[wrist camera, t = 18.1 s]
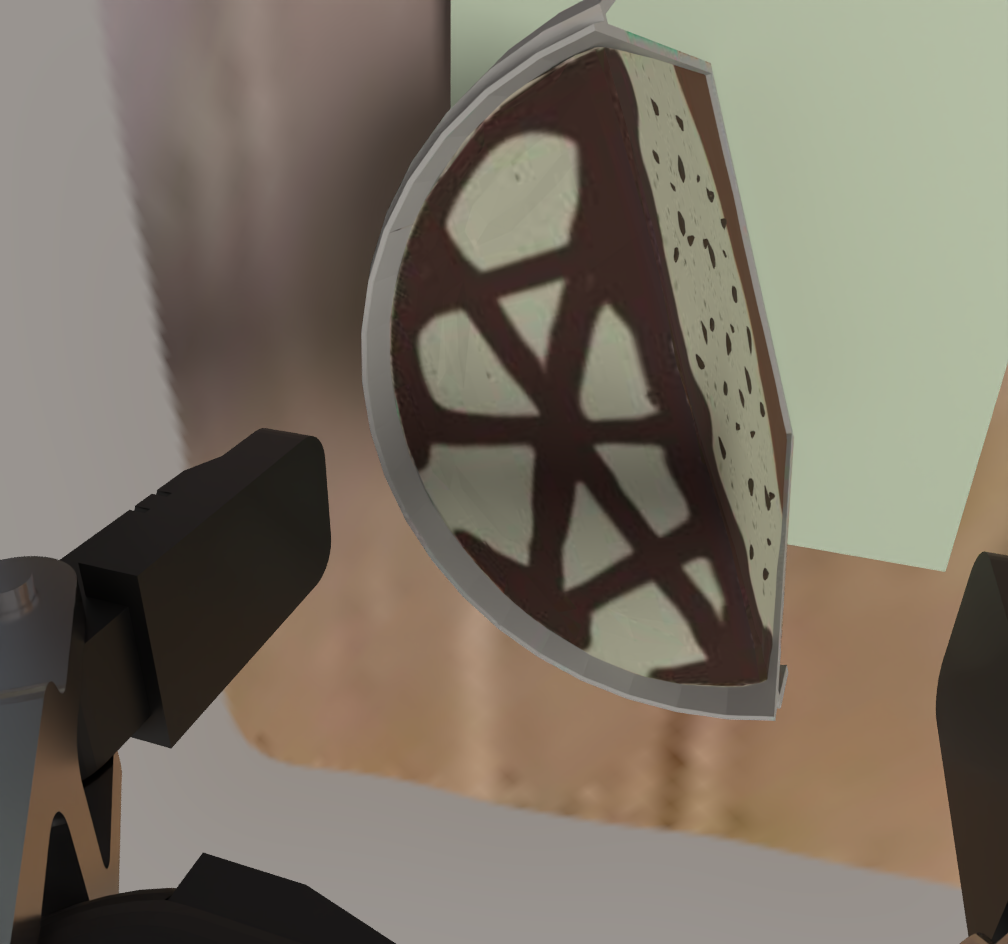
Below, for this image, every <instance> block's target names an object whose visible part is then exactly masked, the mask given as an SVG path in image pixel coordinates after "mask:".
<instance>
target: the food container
mask: <svg viewBox="0 0 1008 944" xmlns="http://www.w3.org/2000/svg"><path fill="white" fill-rule="evenodd" d="M615 1H616V0H583V1H581V2H579V3H577V4H575V5H573V6H571V7H569V8H567V9H565V10H563V11H562V12H560V13H558V14H557V15H556V16H554V17H553V18H551V19H550V20H549V21H547V22H546V23H545V24H543V25H542V26H541V27H539V28H538V29H536V30H535V31H534V32H532V33H531V34H530V35H528V36H527V37H525V38H524V39H523V40H521V41H520V42H519V43H517V44H516V45H514V46H513V47H512V48H510V49H509V50H508V51H507V52H506V53H505V54H504V55H503V56H502V57H501V58H500V59H499V60H498V61H497V62H496V63H495V64H494V65H493V66H492V67H491V68H490V69H489V70H488V71H487V72H486V73H485V74H484V75H483V76H482V77H481V78H480V79H479V80H478V81H477V82H476V83H475V84H474V85H473V86H472V87H471V88H470V89H469V90H468V91H467V92H466V93H465V94H464V95H463V96H462V97H461V99H460V100H459V101H458V102H457V103H456V104H455V105H454V106H453V107H452V108H451V109H450V110H449V111H448V112H447V113H446V114H445V116H444V117H443V118H442V120H441V121H440V123H439V124H438V126H437V127H436V128H435V130H434V131H433V133H432V134H431V135H430V137H429V138H428V140H427V141H426V142H425V144H424V145H423V147H422V148H421V149H420V151H419V152H418V154H417V155H416V156H415V158H414V159H413V161H412V162H411V164H410V166H409V168H408V170H407V172H406V174H405V176H404V178H403V180H402V183H401V185H400V187H399V189H398V191H397V193H396V195H395V197H394V199H393V201H392V203H391V205H390V207H389V209H388V211H387V213H386V217H385V220H384V223H383V226H382V230H381V233H380V236H379V240H378V243H377V246H376V249H375V253H374V256H373V259H372V262H371V267H370V274H369V281H368V287H367V295H366V302H365V309H364V317H363V324H362V332H361V340H362V384H363V390H364V396H365V402H366V408H367V414H368V420H369V426H370V431H371V435H372V438H373V441H374V444H375V447H376V450H377V453H378V456H379V460H380V463H381V466H382V469H383V472H384V475H385V478H386V480H387V482H388V484H389V486H390V488H391V490H392V493H393V495H394V497H395V499H396V501H397V503H398V505H399V507H400V509H401V511H402V513H403V515H404V518H405V520H406V521H407V523H408V524H409V526H410V527H411V529H412V531H413V532H414V534H415V535H416V537H417V538H418V540H419V541H420V543H421V544H422V546H423V547H424V549H425V550H426V552H427V553H428V555H429V557H430V558H431V560H432V561H433V562H434V563H435V564H436V566H437V567H438V568H439V569H440V570H441V571H442V573H443V574H444V575H445V576H446V577H447V578H448V580H449V581H450V582H451V583H452V584H453V585H454V587H455V588H456V589H457V590H458V591H459V592H460V594H461V595H462V596H463V597H464V598H465V599H466V600H467V601H468V602H470V603H471V604H472V605H473V606H474V607H475V608H476V609H477V610H478V611H479V612H481V613H482V614H483V615H484V616H485V617H486V618H487V619H488V620H489V621H490V622H491V623H493V624H494V625H495V626H496V627H497V628H498V629H499V630H501V631H502V632H504V633H505V634H506V635H508V636H509V637H511V638H512V639H513V640H515V641H516V642H518V643H519V644H520V645H522V646H523V647H525V648H526V649H528V650H529V651H530V652H532V653H533V654H535V655H536V656H537V657H539V658H541V659H543V660H545V661H546V662H548V663H550V664H552V665H554V666H556V667H557V668H559V669H561V670H563V671H565V672H567V673H568V674H570V675H572V676H574V677H576V678H578V679H580V680H581V681H584V682H586V683H589V684H591V685H594V686H597V687H599V688H602V689H604V690H607V691H609V692H612V693H614V694H617V695H619V696H622V697H624V698H627V699H630V700H634V701H637V702H641V703H645V704H649V705H652V706H656V707H660V708H663V709H667V710H671V711H675V712H680V713H687V714H694V715H701V716H708V717H715V718H722V719H738V720H774V721H775V718H776V710H777V708H781V704H782V700H783V695H784V690H785V685H786V681H787V676H788V669H787V665H780V655H781V638H782V622H783V606H784V590H785V574H786V558H787V541H788V525H789V509H790V493H791V477H792V460H793V444H794V435H793V430H792V426H791V421H790V417H789V412H788V408H787V403H786V399H785V394H784V390H783V385H782V381H781V376H780V372H779V368H778V363H777V359H776V354H775V350H774V345H773V341H772V336H771V332H770V327H769V323H768V318H767V314H766V309H765V305H764V300H763V296H762V291H761V287H760V282H759V278H758V273H757V269H756V264H755V260H754V255H753V251H752V246H751V242H750V237H749V233H748V228H747V224H746V219H745V215H744V210H743V206H742V201H741V197H740V192H739V188H738V183H737V179H736V174H735V170H734V165H733V161H732V156H731V152H730V147H729V143H728V138H727V134H726V129H725V125H724V120H723V116H722V111H721V107H720V102H719V98H718V93H717V89H716V84H715V80H714V75H713V71H712V66H711V63H709V62H707V61H704V60H701V59H699V58H696V57H694V56H691V55H688V54H686V53H683V52H681V51H678V50H675V49H673V48H670V47H668V46H665V45H662V44H660V43H657V42H654V41H652V40H649V39H647V38H644V37H641V36H639V35H636V34H634V33H631V32H628V31H626V30H623V29H621V28H618V27H615V26H613V25H610V24H608V22H607V18H606V13H607V12H608V10H609V9H610V8H611V6H612V5H613V4H614V2H615Z"/></svg>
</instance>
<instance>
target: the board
mask: <svg viewBox="0 0 1008 944" xmlns="http://www.w3.org/2000/svg"><path fill="white" fill-rule="evenodd" d="M581 1H583V0H451V108H452V107H453V106H454V105H455V104H456V103H457V102H458V101H459V100H460V99H461V97H462V96H463V95H464V94H465V93H466V92H467V91H468V90H469V89H470V88H471V87H472V86H473V85H474V84H475V83H476V82H477V81H478V80H479V79H480V78H481V77H482V76H483V75H484V74H485V73H486V72H487V71H488V70H489V69H490V68H491V67H492V66H493V65H494V64H495V63H496V62H497V61H498V60H499V59H500V58H501V57H502V56H503V55H504V54H505V53H506V52H507V51H508V50H509V49H510V48H512V47H513V46H514V45H516V44H517V43H519V42H520V41H521V40H523V39H524V38H525V37H527V36H528V35H530V34H531V33H532V32H534V31H535V30H536V29H538V28H539V27H541V26H542V25H543V24H545V23H546V22H547V21H549V20H550V19H551V18H553V17H554V16H556V15H557V14H558V13H560V12H562V11H563V10H565V9H567V8H569V7H571V6H573V5H575V4H577V3H579V2H581ZM606 18H607V22H608V24H610V25H613V26H615V27H618V28H621V29H623V30H626V31H628V32H631V33H634V34H636V35H639V36H641V37H644V38H647V39H649V40H652V41H654V42H657V43H660V44H662V45H665V46H668V47H670V48H673V49H675V50H678V51H681V52H683V53H686V54H688V55H691V56H694V57H696V58H699V59H701V60H704V61H707V62H709V63H711V66H712V71H713V75H714V80H715V84H716V89H717V93H718V98H719V102H720V107H721V111H722V116H723V120H724V125H725V129H726V134H727V138H728V143H729V147H730V152H731V156H732V161H733V165H734V170H735V174H736V179H737V183H738V188H739V192H740V197H741V201H742V206H743V210H744V215H745V219H746V224H747V228H748V233H749V237H750V242H751V246H752V251H753V255H754V260H755V264H756V269H757V273H758V278H759V282H760V287H761V291H762V296H763V300H764V305H765V309H766V314H767V318H768V323H769V327H770V332H771V336H772V341H773V345H774V350H775V354H776V359H777V363H778V368H779V372H780V376H781V381H782V385H783V390H784V394H785V399H786V403H787V408H788V412H789V417H790V421H791V426H792V430H793V435H794V444H793V460H792V477H791V493H790V509H789V525H788V541H787V544H789V545H795V546H801V547H807V548H812V549H818V550H824V551H830V552H835V553H841V554H847V555H852V556H858V557H864V558H870V559H875V560H881V561H887V562H892V563H898V564H904V565H910V566H915V567H921V568H927V569H932V570H938V571H944V572H945V571H946V568H947V564H948V561H949V558H950V554H951V551H952V548H953V544H954V541H955V537H956V534H957V531H958V527H959V524H960V521H961V517H962V514H963V511H964V507H965V504H966V501H967V497H968V494H969V491H970V487H971V484H972V480H973V477H974V474H975V470H976V467H977V464H978V460H979V457H980V454H981V450H982V447H983V444H984V440H985V437H986V434H987V430H988V427H989V423H990V420H991V417H992V413H993V410H994V407H995V403H996V400H997V397H998V393H999V390H1000V387H1001V383H1002V380H1003V377H1004V373H1005V370H1006V366H1007V363H1008V0H616V1H615V2H614V4H613V5H612V6H611V8H610V9H609V10H608V12H607V13H606Z"/></svg>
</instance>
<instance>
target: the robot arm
mask: <svg viewBox="0 0 1008 944" xmlns="http://www.w3.org/2000/svg"><path fill="white" fill-rule="evenodd" d="M330 549H331V531H330V518H329V504H328V491H327V478H326V464H325V454H324V449H323V446H322V444H321V442H320V441H319V439H317V438H316V437H314V436H308V435H302V434H297V433H291V432H285V431H279V430H273V429H267V428H262V429H259V430H257V431H255V432H254V433H253V434H251V435H250V436H249V437H247V438H246V439H244V440H243V441H242V442H240V443H239V444H238V445H236V446H235V447H234V448H232V449H231V450H230V451H228V452H227V453H226V454H224V455H223V456H221V457H218V458H216V459H213V460H211V461H208V462H205V463H203V464H200V465H198V466H195V467H193V468H190V469H187V470H185V471H183V472H182V473H180V474H179V475H177V476H176V477H175V478H173V479H172V480H170V481H169V482H168V483H166V484H165V485H163V486H162V487H161V488H159V489H158V490H157V494H156V495H155V494H151V495H150V496H148V497H147V498H145V499H144V500H143V501H141V502H140V503H138V504H137V505H136V506H135V510H134V511H132V510H129V511H127V512H126V513H125V514H123V515H122V516H120V517H119V518H118V519H116V520H115V521H113V522H112V523H111V524H109V525H108V526H107V527H105V528H104V529H102V530H101V531H99V532H98V533H97V534H95V535H94V536H93V537H91V538H90V539H88V540H87V541H85V542H84V543H83V544H81V545H80V546H79V547H77V548H76V549H74V550H73V551H72V552H70V553H69V554H67V555H66V556H65V557H63V558H62V559H60V560H57V559H54V558H48V557H40V556H39V557H38V556H26V557H25V556H24V557H14V558H8V559H3V560H0V944H396V943H394V942H393V941H391V940H389V939H388V938H386V937H385V936H383V935H381V934H380V933H379V932H377V931H376V930H374V929H373V928H371V927H370V926H368V925H367V924H365V923H363V922H362V921H360V920H359V919H357V918H356V917H354V916H353V915H351V914H350V913H348V912H347V911H345V910H344V909H342V908H340V907H339V906H338V905H336V904H334V903H333V902H331V901H330V900H328V899H327V898H325V897H324V896H322V895H321V894H319V893H318V892H316V891H314V890H313V889H311V888H310V887H309V886H307V885H305V884H301V883H298V882H295V881H292V880H289V879H286V878H282V877H279V876H275V875H273V874H270V873H267V872H263V871H260V870H257V869H254V868H250V867H247V866H244V865H241V864H238V863H235V862H231V861H228V860H225V859H222V858H219V857H215V856H212V855H209V854H206V853H202V855H201V856H200V857H199V859H198V860H197V861H196V863H195V864H194V865H193V867H192V868H191V869H190V871H189V872H188V873H187V875H186V876H185V878H184V879H183V880H182V882H181V883H180V884H179V886H178V887H177V888H162V889H146V890H137V891H132V892H125V893H119V863H120V821H121V781H122V770H121V763H120V759H119V755H118V750H119V749H120V748H121V746H122V745H123V744H124V743H125V742H126V741H127V740H128V739H129V738H130V737H133V738H136V739H140V740H143V741H147V742H151V743H154V744H157V745H161V746H164V747H168V748H172V747H173V746H174V745H175V744H176V742H177V741H178V740H179V739H180V738H181V737H182V736H183V735H184V733H185V732H186V731H187V730H188V729H189V728H190V727H191V726H192V724H193V723H194V722H195V721H196V720H197V719H198V718H199V717H200V715H201V714H202V713H203V712H204V711H205V710H206V709H207V708H208V706H209V705H210V704H211V703H212V702H213V701H214V700H215V699H216V697H217V696H218V695H219V694H220V693H221V692H222V691H223V690H224V688H225V687H226V686H227V685H228V684H229V683H230V682H231V681H232V679H233V678H234V677H235V676H236V675H237V674H238V673H239V672H240V670H241V669H242V668H243V667H244V666H245V665H246V664H247V663H248V661H249V660H250V659H251V658H252V657H253V656H254V655H255V654H256V652H257V651H258V650H259V649H260V648H261V647H262V646H263V645H264V643H265V642H266V641H267V640H268V639H269V638H270V637H271V636H272V634H273V633H274V632H275V631H276V630H277V629H278V628H279V627H280V625H281V624H282V623H283V622H284V621H285V620H286V619H287V618H288V616H289V615H290V614H291V613H292V612H293V611H294V610H295V609H296V607H297V606H298V605H299V604H300V603H301V602H302V601H303V600H304V598H305V597H306V596H307V595H308V594H309V593H310V592H311V591H312V589H313V588H314V587H315V586H316V585H317V584H318V582H319V581H320V579H321V578H322V576H323V574H324V571H325V569H326V566H327V563H328V560H329V555H330ZM936 720H937V727H938V734H939V740H940V747H941V754H942V761H943V767H944V774H945V781H946V788H947V794H948V801H949V808H950V815H951V821H952V828H953V835H954V842H955V848H956V855H957V862H958V869H959V875H960V882H961V889H962V896H963V902H964V908H965V916H966V923H967V928H968V936H969V937H968V938H966V939H965V940H964V941H962V942H961V943H960V944H1008V556H1007V555H1001V554H995V553H989V552H982V553H981V554H980V555H979V556H978V557H977V559H976V561H975V563H974V565H973V568H972V570H971V573H970V577H969V580H968V583H967V586H966V589H965V592H964V596H963V599H962V602H961V605H960V608H959V611H958V615H957V618H956V621H955V624H954V627H953V630H952V634H951V637H950V640H949V643H948V646H947V649H946V653H945V656H944V659H943V662H942V666H941V670H940V675H939V680H938V687H937V696H936Z"/></svg>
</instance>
